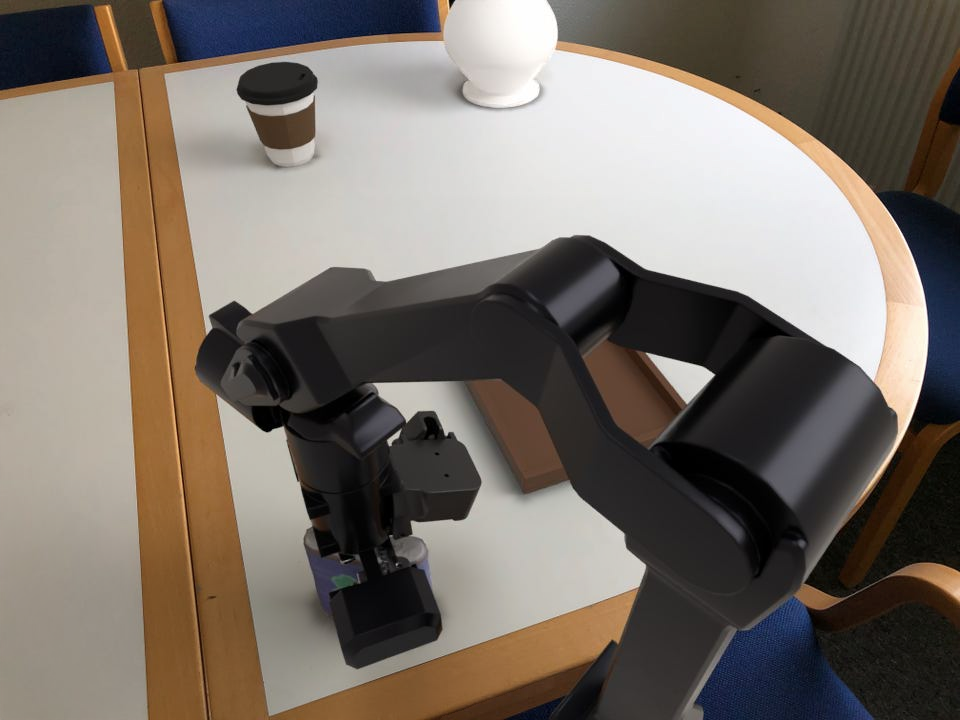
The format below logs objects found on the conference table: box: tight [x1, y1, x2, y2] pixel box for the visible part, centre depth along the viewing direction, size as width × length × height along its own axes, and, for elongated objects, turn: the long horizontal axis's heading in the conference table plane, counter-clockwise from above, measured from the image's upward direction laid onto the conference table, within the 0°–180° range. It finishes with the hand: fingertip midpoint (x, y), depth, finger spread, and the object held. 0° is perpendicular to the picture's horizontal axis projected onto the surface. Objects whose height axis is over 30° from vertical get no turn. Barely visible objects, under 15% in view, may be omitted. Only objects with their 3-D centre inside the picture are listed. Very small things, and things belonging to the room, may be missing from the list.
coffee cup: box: [236, 61, 319, 168], centre depth 111 cm, size 11×11×12 cm
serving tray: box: [464, 340, 688, 495], centre depth 79 cm, size 24×18×2 cm
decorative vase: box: [442, 0, 559, 109], centre depth 121 cm, size 18×18×25 cm
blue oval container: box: [302, 526, 434, 619], centre depth 58 cm, size 9×3×11 cm, turn 80°
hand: (372, 591), depth 60 cm, fingers closed on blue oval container, 5 cm apart
